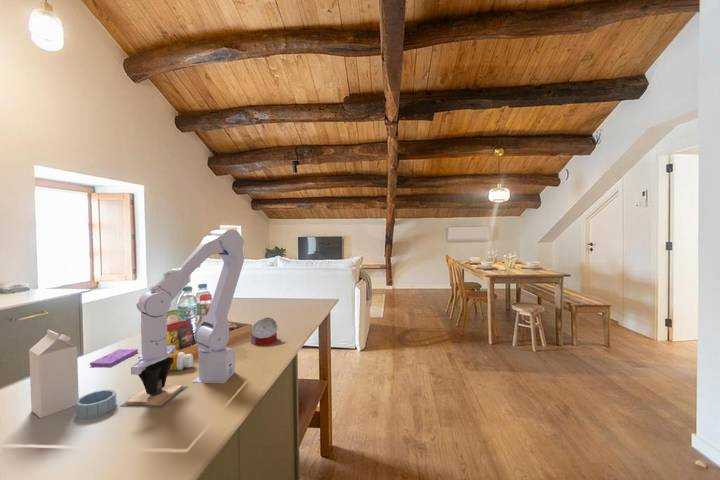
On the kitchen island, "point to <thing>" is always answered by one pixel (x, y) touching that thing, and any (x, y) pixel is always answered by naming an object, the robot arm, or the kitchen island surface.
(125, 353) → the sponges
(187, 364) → the supplement bottle
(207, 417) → the kitchen island surface
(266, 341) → the canned food
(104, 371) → the kitchen island surface
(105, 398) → the ceramic bowl
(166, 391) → the oak lid
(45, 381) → the milk carton
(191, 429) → the kitchen island surface
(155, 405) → the rubber mat
